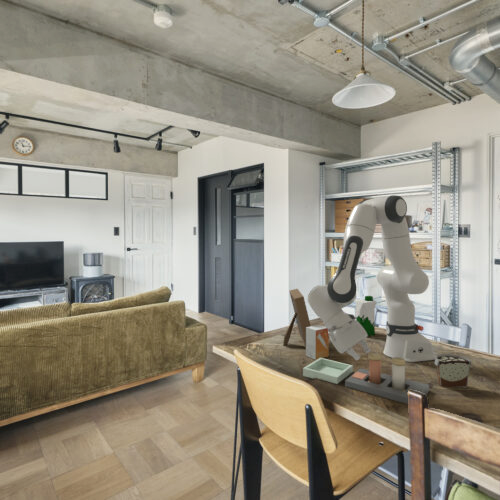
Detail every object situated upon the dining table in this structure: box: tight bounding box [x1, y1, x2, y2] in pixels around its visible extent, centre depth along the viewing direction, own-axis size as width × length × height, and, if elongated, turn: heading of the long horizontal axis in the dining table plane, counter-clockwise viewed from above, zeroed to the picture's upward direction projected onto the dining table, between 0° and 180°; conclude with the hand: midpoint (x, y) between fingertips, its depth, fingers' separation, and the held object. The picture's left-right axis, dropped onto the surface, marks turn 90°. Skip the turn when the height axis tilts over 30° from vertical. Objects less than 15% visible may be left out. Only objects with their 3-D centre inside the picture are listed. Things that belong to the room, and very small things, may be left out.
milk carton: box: [354, 295, 377, 337], centre depth 187 cm, size 9×9×20 cm
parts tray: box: [302, 357, 354, 385], centre depth 136 cm, size 14×14×3 cm
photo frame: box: [282, 288, 312, 348], centre depth 175 cm, size 15×22×25 cm
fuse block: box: [344, 368, 430, 405], centre depth 122 cm, size 24×14×3 cm, turn 51°
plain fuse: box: [390, 357, 407, 391], centre depth 120 cm, size 4×4×11 cm
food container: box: [434, 353, 472, 388], centre depth 126 cm, size 12×6×10 cm, turn 92°
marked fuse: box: [367, 352, 383, 385], centre depth 125 cm, size 4×4×11 cm
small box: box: [305, 324, 330, 361], centre depth 156 cm, size 8×6×13 cm
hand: (364, 355), depth 127 cm, fingers open, 8 cm apart
